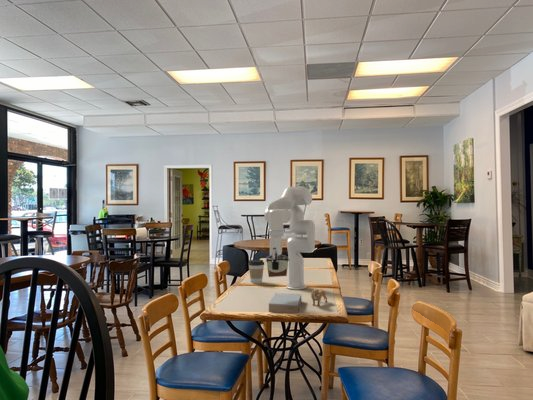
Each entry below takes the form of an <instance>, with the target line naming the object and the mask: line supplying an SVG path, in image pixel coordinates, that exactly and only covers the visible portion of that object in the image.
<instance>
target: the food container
mask: <svg viewBox="0 0 533 400" xmlns="http://www.w3.org/2000/svg"><path fill="white" fill-rule="evenodd" d="M275 256H277V255H275ZM276 259H277V257H276ZM278 262H279V269H278V270H273V269H272V256H270V255H268V256H266V259H265V261H264V264H265V263H266V266H267V268H266V269H267V273H268V274H267V275H268V278H276V277H277V278H279V277H288V269H289V258H288V256H287V255H285V254H281V255H280V256H278Z"/></svg>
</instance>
